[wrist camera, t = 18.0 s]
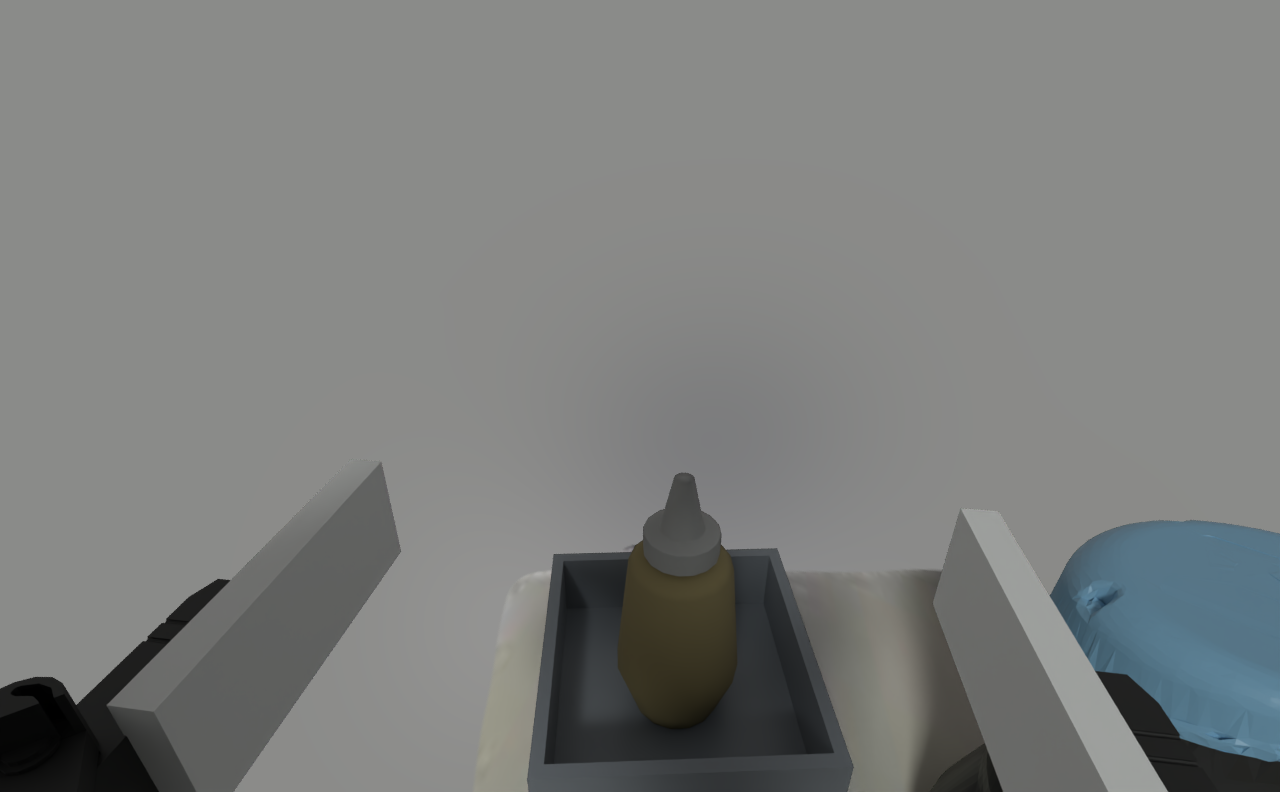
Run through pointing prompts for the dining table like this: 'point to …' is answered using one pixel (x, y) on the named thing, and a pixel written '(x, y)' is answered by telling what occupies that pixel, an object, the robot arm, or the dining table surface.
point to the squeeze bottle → (678, 614)
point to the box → (707, 752)
